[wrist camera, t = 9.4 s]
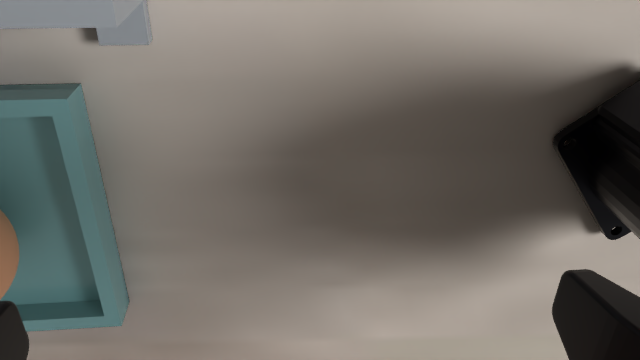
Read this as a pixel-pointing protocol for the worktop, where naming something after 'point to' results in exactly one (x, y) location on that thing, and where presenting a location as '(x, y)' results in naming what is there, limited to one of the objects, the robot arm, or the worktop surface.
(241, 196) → the worktop surface
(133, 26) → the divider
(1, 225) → the ball
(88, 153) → the coaster tray
